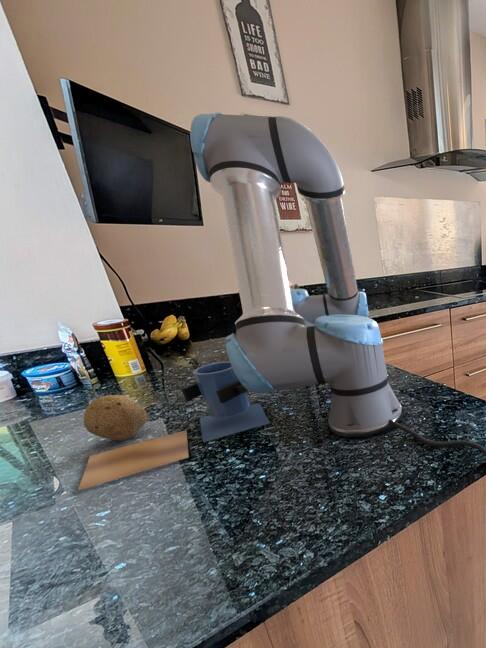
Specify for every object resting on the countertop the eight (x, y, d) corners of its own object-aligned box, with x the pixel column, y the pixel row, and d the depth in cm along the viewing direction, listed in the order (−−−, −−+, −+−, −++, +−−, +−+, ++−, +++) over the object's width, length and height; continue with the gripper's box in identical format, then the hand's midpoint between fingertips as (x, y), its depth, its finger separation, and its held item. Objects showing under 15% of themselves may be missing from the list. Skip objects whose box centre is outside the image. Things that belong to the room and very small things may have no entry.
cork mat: (189, 458, 75) (188, 457, 74) (78, 492, 66) (77, 490, 66) (187, 431, 85) (186, 429, 85) (90, 457, 76) (89, 455, 76)
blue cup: (252, 410, 86) (238, 367, 82) (210, 421, 82) (194, 377, 78) (247, 399, 92) (234, 359, 88) (208, 409, 88) (192, 367, 84)
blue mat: (270, 424, 86) (269, 423, 86) (203, 443, 80) (203, 442, 79) (259, 404, 97) (259, 402, 96) (200, 419, 90) (199, 418, 90)
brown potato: (81, 452, 78) (57, 407, 74) (119, 430, 86) (98, 388, 82) (129, 449, 79) (107, 404, 75) (162, 427, 87) (144, 386, 83)
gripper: (319, 373, 101) (251, 415, 80) (250, 370, 104) (167, 409, 84) (313, 345, 98) (240, 381, 77) (241, 343, 101) (153, 377, 81)
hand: (202, 396), depth 80 cm, fingers closed on blue cup, 8 cm apart
